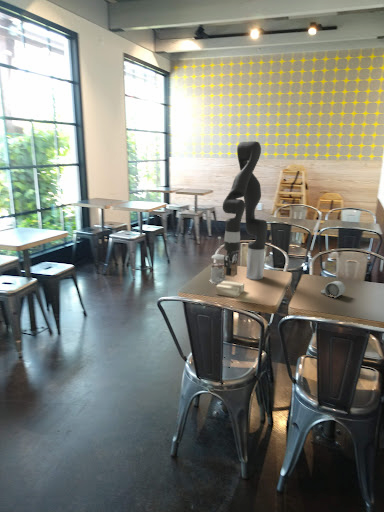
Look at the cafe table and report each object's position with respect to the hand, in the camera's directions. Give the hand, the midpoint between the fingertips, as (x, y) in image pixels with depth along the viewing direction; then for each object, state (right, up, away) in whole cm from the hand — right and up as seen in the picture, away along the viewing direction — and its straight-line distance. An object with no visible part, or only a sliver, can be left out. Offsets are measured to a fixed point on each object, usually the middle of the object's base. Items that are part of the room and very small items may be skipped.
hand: (230, 273), depth 190 cm
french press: (-4, -5, +20) cm, 21 cm away
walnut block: (0, -1, 0) cm, 1 cm away
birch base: (0, -10, +3) cm, 10 cm away
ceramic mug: (+51, -11, +1) cm, 52 cm away
